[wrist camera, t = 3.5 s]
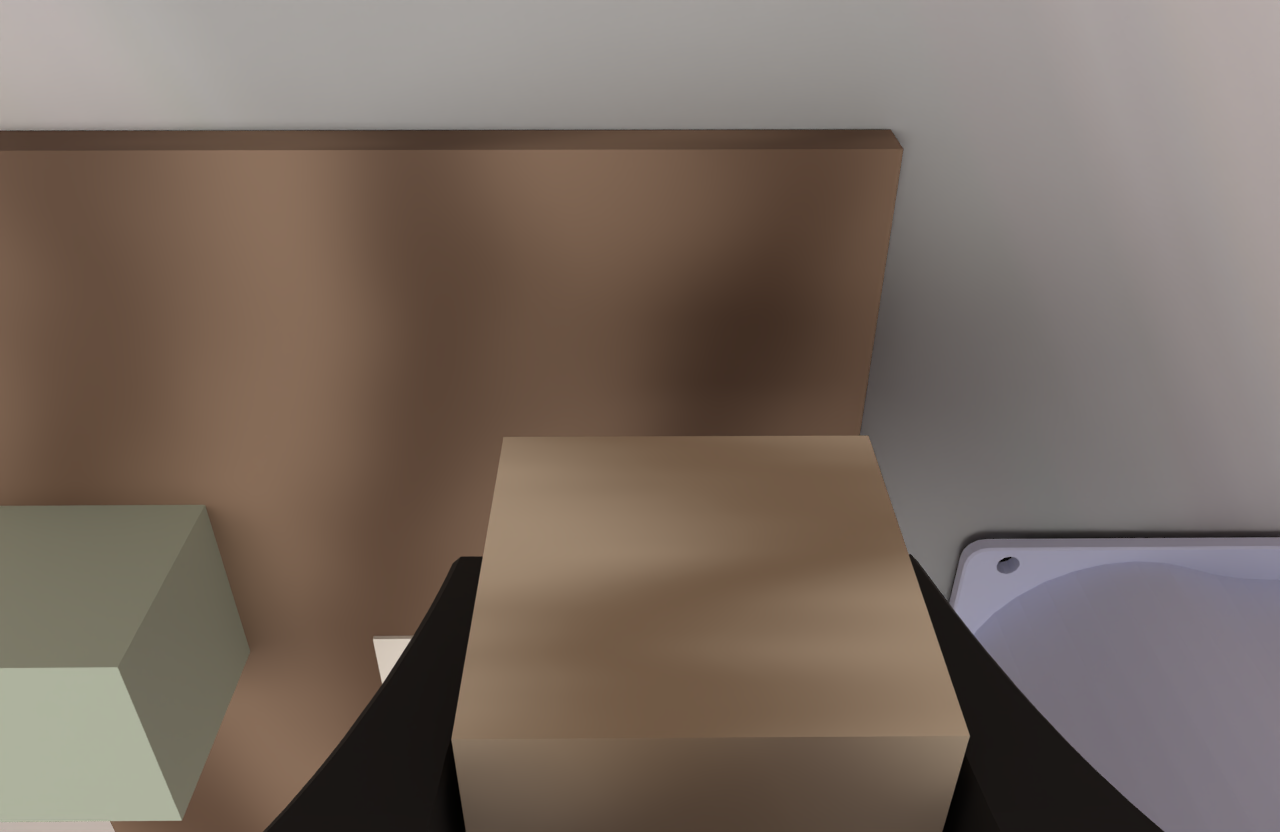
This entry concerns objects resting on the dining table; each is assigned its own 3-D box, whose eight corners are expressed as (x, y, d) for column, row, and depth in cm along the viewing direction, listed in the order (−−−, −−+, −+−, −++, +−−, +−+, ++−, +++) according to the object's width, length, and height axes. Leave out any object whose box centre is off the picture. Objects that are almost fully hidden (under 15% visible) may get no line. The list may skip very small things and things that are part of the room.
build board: (890, 129, 18) (904, 151, 17) (793, 807, 30) (798, 841, 29) (-179, 131, 18) (-221, 153, 17) (135, 812, 29) (119, 848, 28)
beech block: (868, 435, 13) (969, 735, 9) (829, 682, 15) (894, 996, 11) (503, 436, 12) (451, 738, 9) (525, 684, 15) (492, 999, 11)
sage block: (205, 504, 22) (117, 667, 18) (250, 651, 24) (181, 820, 20) (-8, 505, 22) (-140, 669, 18) (59, 653, 24) (-44, 822, 20)
